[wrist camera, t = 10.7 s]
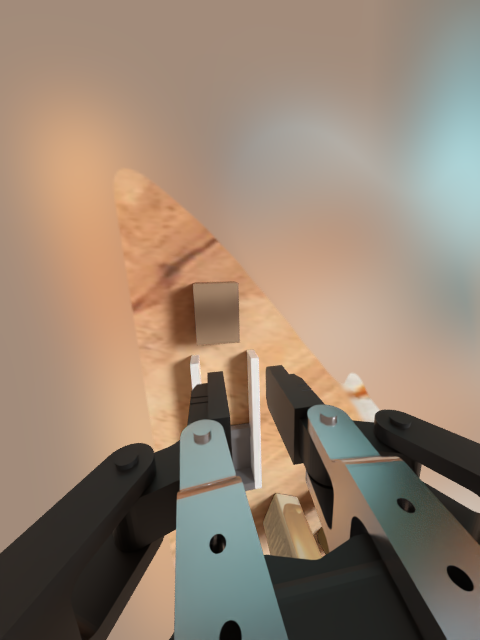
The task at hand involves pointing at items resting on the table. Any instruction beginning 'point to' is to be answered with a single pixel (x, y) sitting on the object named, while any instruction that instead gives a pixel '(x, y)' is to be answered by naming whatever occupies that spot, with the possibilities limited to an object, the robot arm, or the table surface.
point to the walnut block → (216, 312)
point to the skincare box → (289, 529)
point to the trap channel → (243, 426)
